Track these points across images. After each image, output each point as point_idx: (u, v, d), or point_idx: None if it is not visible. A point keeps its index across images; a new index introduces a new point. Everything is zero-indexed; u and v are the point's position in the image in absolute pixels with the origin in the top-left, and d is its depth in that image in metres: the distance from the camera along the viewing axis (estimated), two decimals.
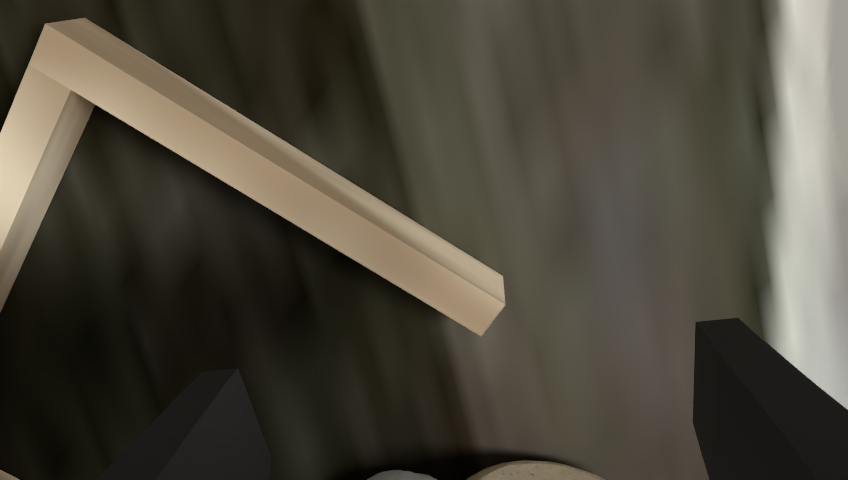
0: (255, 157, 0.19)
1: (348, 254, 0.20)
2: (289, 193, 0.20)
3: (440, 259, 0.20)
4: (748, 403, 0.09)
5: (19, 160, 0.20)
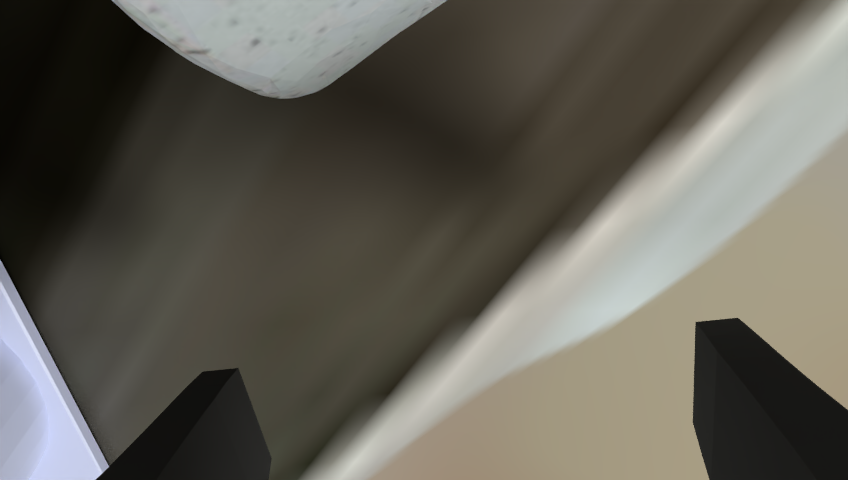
0: None
1: None
2: None
3: None
4: (747, 403, 0.09)
5: None
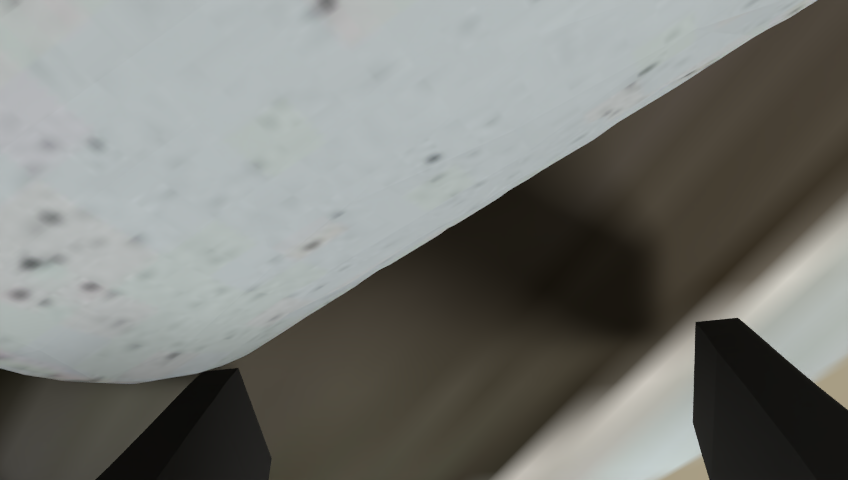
0: None
1: None
2: None
3: None
4: (747, 403, 0.09)
5: None
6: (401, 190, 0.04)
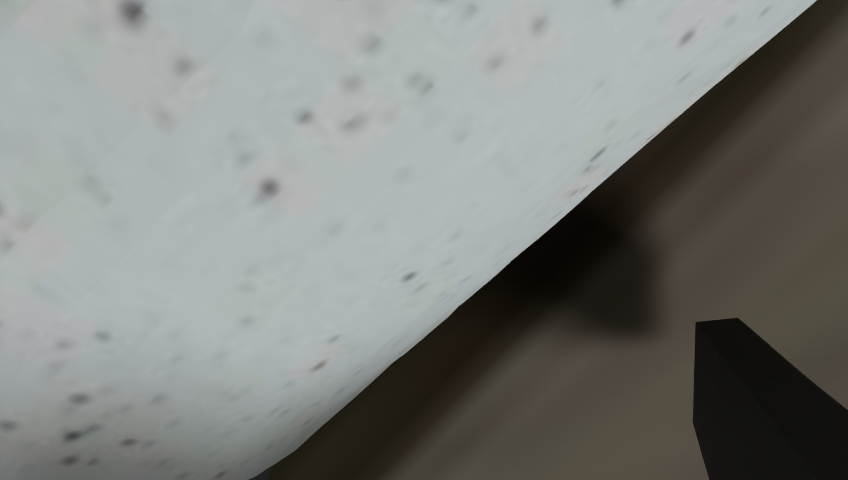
0: None
1: None
2: None
3: None
4: (748, 402, 0.09)
5: None
6: (388, 305, 0.05)
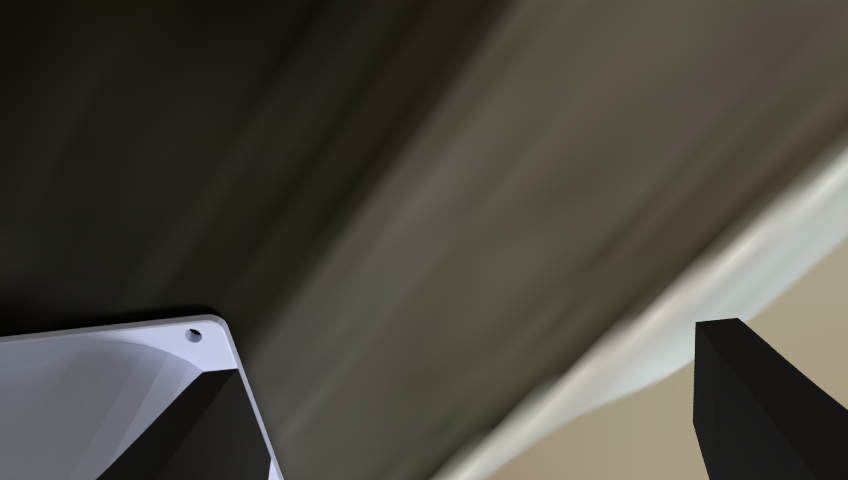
0: None
1: None
2: None
3: None
4: (748, 403, 0.09)
5: None
6: None
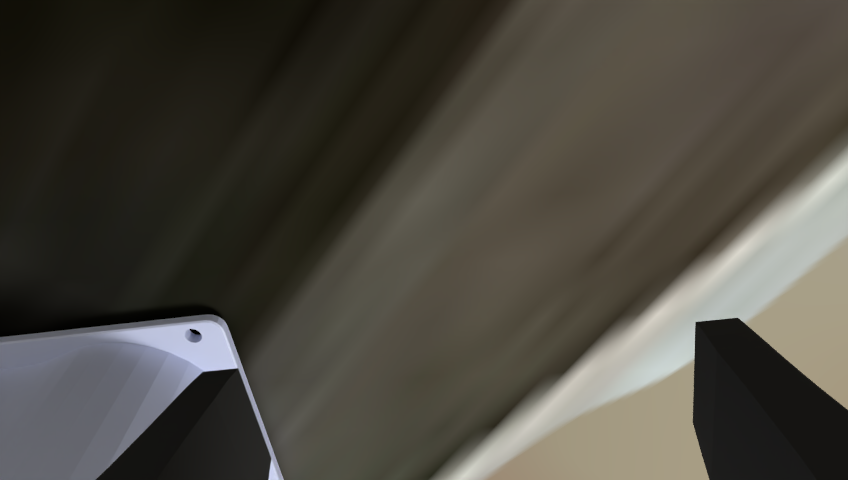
0: None
1: None
2: None
3: None
4: (748, 403, 0.09)
5: None
6: None
